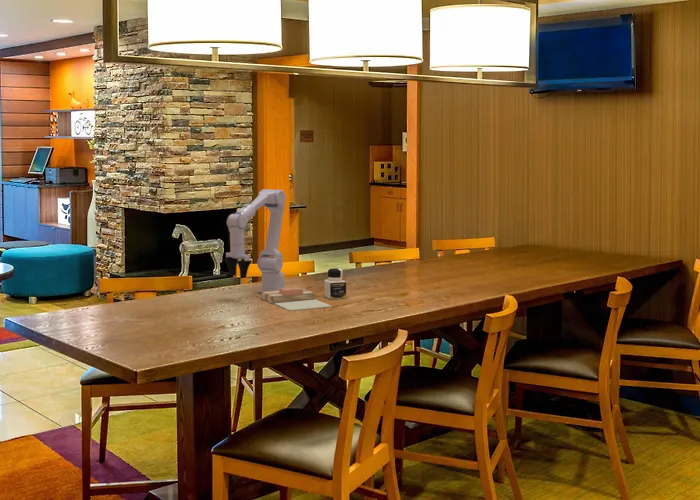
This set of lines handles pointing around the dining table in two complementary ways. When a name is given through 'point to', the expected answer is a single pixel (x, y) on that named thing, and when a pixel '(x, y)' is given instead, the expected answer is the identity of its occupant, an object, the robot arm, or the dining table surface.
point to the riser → (286, 296)
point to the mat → (302, 305)
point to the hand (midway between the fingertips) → (238, 276)
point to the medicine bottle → (335, 284)
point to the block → (291, 291)
